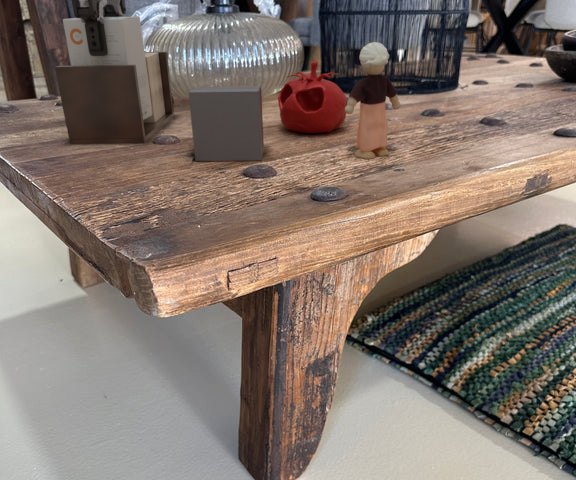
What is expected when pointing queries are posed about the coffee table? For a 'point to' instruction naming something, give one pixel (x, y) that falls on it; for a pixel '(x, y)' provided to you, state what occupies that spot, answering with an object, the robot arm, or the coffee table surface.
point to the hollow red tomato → (312, 103)
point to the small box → (113, 50)
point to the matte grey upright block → (227, 123)
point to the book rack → (114, 101)
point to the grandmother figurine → (372, 102)
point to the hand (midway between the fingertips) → (108, 52)
